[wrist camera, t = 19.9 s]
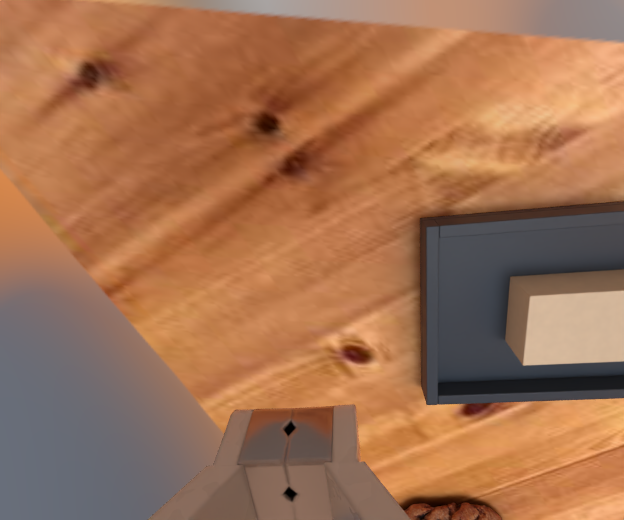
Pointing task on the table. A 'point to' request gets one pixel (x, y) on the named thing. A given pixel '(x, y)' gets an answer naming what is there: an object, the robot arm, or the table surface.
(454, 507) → the cookie
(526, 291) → the beige rectangular block
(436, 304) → the backing tray
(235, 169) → the table surface
